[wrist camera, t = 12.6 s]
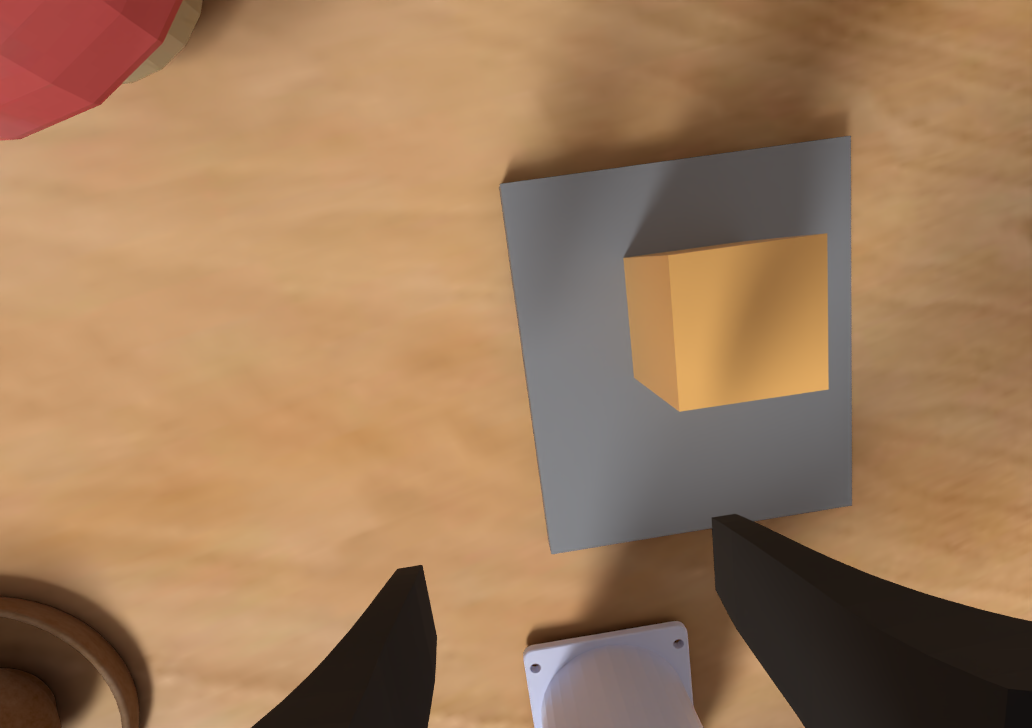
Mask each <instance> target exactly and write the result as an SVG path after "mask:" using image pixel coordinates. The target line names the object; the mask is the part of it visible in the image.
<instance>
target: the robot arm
mask: <svg viewBox="0 0 1032 728" xmlns="http://www.w3.org/2000/svg"><path fill="white" fill-rule="evenodd" d="M711 519H712V536H713V553H714V570H715V588H716V591H717V593H718V595H719V597H720V599H721V601H722V603H723V605H724V607H725V609H726V611H727V613H728V614H729V616H730V618H731V620H732V622H733V623H734V625H735V627H736V629H737V630H738V632H739V633H740V635H741V636H742V638H743V639H744V641H745V642H746V643H747V645H748V646H749V648H750V649H751V651H752V652H753V653H754V655H755V656H756V658H757V659H758V661H759V662H760V663H761V665H762V666H763V668H764V669H765V671H766V672H767V673H768V675H769V676H770V678H771V679H772V680H773V682H774V683H775V685H776V686H777V688H778V689H779V690H780V692H781V693H782V695H783V696H784V697H785V699H786V700H787V702H788V703H789V705H790V706H791V707H792V709H793V710H794V712H795V713H796V714H797V716H798V717H799V719H800V720H801V722H802V723H803V725H804V726H805V728H1032V621H1027V620H1023V619H1018V618H1013V617H1009V616H1005V615H1001V614H997V613H993V612H989V611H985V610H981V609H977V608H973V607H970V606H966V605H963V604H959V603H955V602H952V601H948V600H945V599H941V598H938V597H935V596H931V595H928V594H925V593H922V592H919V591H916V590H913V589H910V588H907V587H904V586H901V585H898V584H895V583H893V582H890V581H887V580H884V579H881V578H879V577H876V576H873V575H871V574H868V573H865V572H863V571H861V570H858V569H856V568H853V567H851V566H849V565H846V564H844V563H841V562H839V561H837V560H834V559H832V558H830V557H827V556H825V555H823V554H821V553H819V552H816V551H814V550H812V549H810V548H808V547H806V546H803V545H801V544H799V543H797V542H795V541H793V540H791V539H789V538H787V537H785V536H783V535H781V534H779V533H776V532H774V531H772V530H770V529H768V528H766V527H764V526H762V525H760V524H758V523H756V522H754V521H751V520H749V519H747V518H745V517H743V516H740V515H738V514H730V515H724V516H718V517H712V518H711ZM678 639H680V640H679V642H676V643H674V641H675V640H678ZM436 647H437V635H436V630H435V625H434V620H433V615H432V610H431V605H430V600H429V595H428V591H427V586H426V581H425V576H424V571H423V566H422V565H418V566H412V567H406V568H400V569H397V570H396V571H395V573H394V574H393V575H392V576H391V578H390V579H389V580H388V582H387V583H386V584H385V586H384V587H383V588H382V590H381V591H380V592H379V593H378V595H377V596H376V597H375V599H374V600H373V601H372V603H371V604H370V605H369V607H368V608H367V609H366V611H365V612H364V613H363V614H362V616H361V617H360V618H359V619H358V621H357V622H356V623H355V624H354V626H353V627H352V628H351V629H350V631H349V632H348V633H347V634H346V635H345V636H344V637H343V639H342V640H341V641H340V642H339V643H338V644H337V646H336V647H335V648H334V649H333V650H332V651H331V652H330V654H329V655H328V656H327V657H326V658H325V659H324V660H323V661H322V662H321V663H320V665H319V666H318V667H317V668H316V669H315V670H314V671H313V672H312V673H311V674H310V675H309V676H308V677H307V678H306V679H305V680H304V681H303V682H302V683H301V684H300V685H299V686H298V687H297V688H296V689H294V690H293V691H292V692H291V693H290V694H289V695H288V696H287V697H286V698H285V699H284V700H283V701H282V702H281V703H279V704H278V705H277V706H276V707H275V708H274V709H272V710H271V711H270V712H269V713H268V714H267V715H265V716H264V717H263V718H262V719H261V720H260V721H258V722H257V723H256V724H255V725H254V726H252V727H251V728H428V722H429V715H430V709H431V703H432V696H433V690H434V683H435V670H436ZM523 658H524V665H525V672H526V678H527V684H528V690H529V697H530V703H531V709H532V716H533V722H534V728H703V726H702V724H701V721H700V719H699V717H698V715H697V713H696V711H695V709H694V706H693V694H692V682H691V669H690V657H689V644H688V632H687V629H686V628H685V626H684V624H683V623H682V622H679V621H672V622H666V623H660V624H654V625H648V626H642V627H636V628H630V629H624V630H618V631H612V632H606V633H600V634H595V635H589V636H583V637H577V638H571V639H565V640H559V641H553V642H547V643H541V644H535V645H531V646H528V647H527V648H526V649H525V650H524V652H523ZM533 664H539V665H538V666H536V667H534V666H531V665H533Z"/></svg>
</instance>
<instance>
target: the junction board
mask: <svg viewBox="0 0 1032 728" xmlns="http://www.w3.org/2000/svg"><path fill="white" fill-rule="evenodd" d="M499 189H500V197H501V204H502V211H503V218H504V225H505V232H506V240H507V247H508V254H509V261H510V268H511V275H512V283H513V290H514V297H515V304H516V311H517V318H518V325H519V333H520V340H521V347H522V354H523V361H524V368H525V376H526V383H527V390H528V397H529V404H530V411H531V419H532V426H533V433H534V440H535V447H536V454H537V462H538V469H539V476H540V483H541V490H542V497H543V505H544V512H545V519H546V526H547V533H548V540H549V545H550V550H551V554H557V553H563V552H569V551H575V550H581V549H587V548H593V547H600V546H606V545H612V544H618V543H624V542H630V541H636V540H643V539H649V538H655V537H661V536H667V535H673V534H680V533H686V532H692V531H698V530H704V529H710V528H712V519H711V518H712V517H718V516H724V515H730V514H738V515H740V516H743V517H745V518H747V519H749V520H751V521H759V520H766V519H772V518H778V517H784V516H790V515H796V514H802V513H809V512H815V511H821V510H827V509H833V508H839V507H845V506H852V372H851V136H845V137H838V138H831V139H823V140H816V141H809V142H801V143H794V144H787V145H780V146H772V147H765V148H758V149H751V150H743V151H736V152H729V153H721V154H714V155H707V156H700V157H692V158H685V159H678V160H671V161H663V162H656V163H649V164H642V165H634V166H627V167H620V168H612V169H605V170H598V171H591V172H583V173H576V174H569V175H562V176H554V177H547V178H540V179H533V180H525V181H518V182H511V183H503V184H500V187H499ZM825 233H827V252H828V381H829V389H828V390H821V391H815V392H808V393H801V394H795V395H788V396H781V397H775V398H768V399H761V400H755V401H748V402H741V403H734V404H728V405H721V406H714V407H708V408H701V409H694V410H688V411H681V412H679V411H678V410H676V409H675V408H674V407H672V406H671V405H670V404H668V403H667V402H666V401H664V400H663V399H662V398H660V397H659V396H658V395H656V394H655V393H654V392H652V391H651V390H650V389H648V388H647V387H646V386H644V385H643V384H642V383H640V382H639V381H638V380H636V379H635V378H634V373H633V361H632V350H631V339H630V328H629V316H628V305H627V294H626V283H625V271H624V260H623V258H626V257H634V256H641V255H648V254H655V253H662V252H670V251H677V250H684V249H691V248H699V247H706V246H713V245H720V244H728V243H735V242H742V241H752V240H762V239H772V238H783V237H793V236H804V235H814V234H825Z"/></svg>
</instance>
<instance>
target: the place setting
mask: <svg viewBox="0 0 1032 728" xmlns="http://www.w3.org/2000/svg"><path fill="white" fill-rule="evenodd" d="M0 617H5V618H10V619H14V620H18V621H21V622H24V623H27V624H31V625H33V626H35V627H38V628H40V629H42V630H45V631H47V632H49V633H51V634H53V635H54V636H56V637H58V638H60V639H62V640H63V641H65V642H66V643H68V644H69V645H70V646H72V647H73V648H75V649H76V650H77V651H79V652H80V653H81V654H82V655H83V656H84V657H85V658H86V659H88V660H89V661H90V662H91V663H92V665H93V666H94V667H95V668H96V669H97V670H98V671H99V673H100V674H101V675H102V677H103V678H104V680H105V681H106V683H107V684H108V686H109V687H110V689H111V691H112V693H113V695H114V697H115V699H116V702H117V705H118V708H119V712H120V715H121V722H122V728H138V727H139V703H138V696H137V692H136V688H135V685H134V682H133V679H132V677H131V675H130V673H129V670H128V668H127V666H126V665H125V663H124V662H123V660H122V659H121V657H120V656H119V654H118V653H117V652H116V651H115V650H114V648H113V647H112V646H111V645H110V644H109V643H108V642H107V641H106V640H105V639H104V638H103V637H102V636H101V635H100V634H99V633H97V632H96V631H95V630H93V629H92V628H91V627H89V626H88V625H86V624H85V623H84V622H82V621H80V620H78V619H77V618H75V617H73V616H71V615H70V614H67V613H65V612H63V611H60V610H58V609H56V608H54V607H50V606H47V605H44V604H41V603H38V602H34V601H29V600H24V599H19V598H8V597H0ZM0 728H61V723H60V718H59V715H58V712H57V707H56V701H55V698H54V695H53V693H52V692H51V690H50V689H49V687H48V686H47V685H46V684H45V683H44V682H43V681H42V680H40V679H39V678H37V677H36V676H34V675H32V674H30V673H28V672H25V671H22V670H18V669H11V668H1V669H0Z"/></svg>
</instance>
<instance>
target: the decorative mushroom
mask: <svg viewBox="0 0 1032 728" xmlns="http://www.w3.org/2000/svg"><path fill="white" fill-rule="evenodd" d="M202 1H203V0H0V140H14V139H22V138H24V137H27V136H29V135H31V134H34V133H36V132H38V131H40V130H43V129H45V128H47V127H50V126H52V125H54V124H57V123H59V122H61V121H64V120H66V119H68V118H71V117H73V116H75V115H77V114H80V113H82V112H84V111H87V110H89V109H91V108H94V107H96V106H98V105H101V104H102V103H103V102H104V101H105V100H106V99H107V98H108V97H109V96H110V95H111V94H112V93H113V92H114V91H115V90H116V89H117V88H118V87H119V86H120V85H121V84H125V83H133V82H136V81H138V80H140V79H142V78H144V77H146V76H148V75H151V74H153V73H155V72H157V71H159V70H161V69H163V68H164V67H165V66H166V65H167V64H168V63H169V62H170V61H171V60H172V59H173V58H174V57H175V56H176V55H177V54H178V53H179V52H180V51H181V50H182V49H183V48H184V47H185V46H186V44H187V42H188V40H189V38H190V36H191V33H192V31H193V29H194V27H195V25H196V23H197V21H198V19H199V17H200V15H201V8H202Z"/></svg>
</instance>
